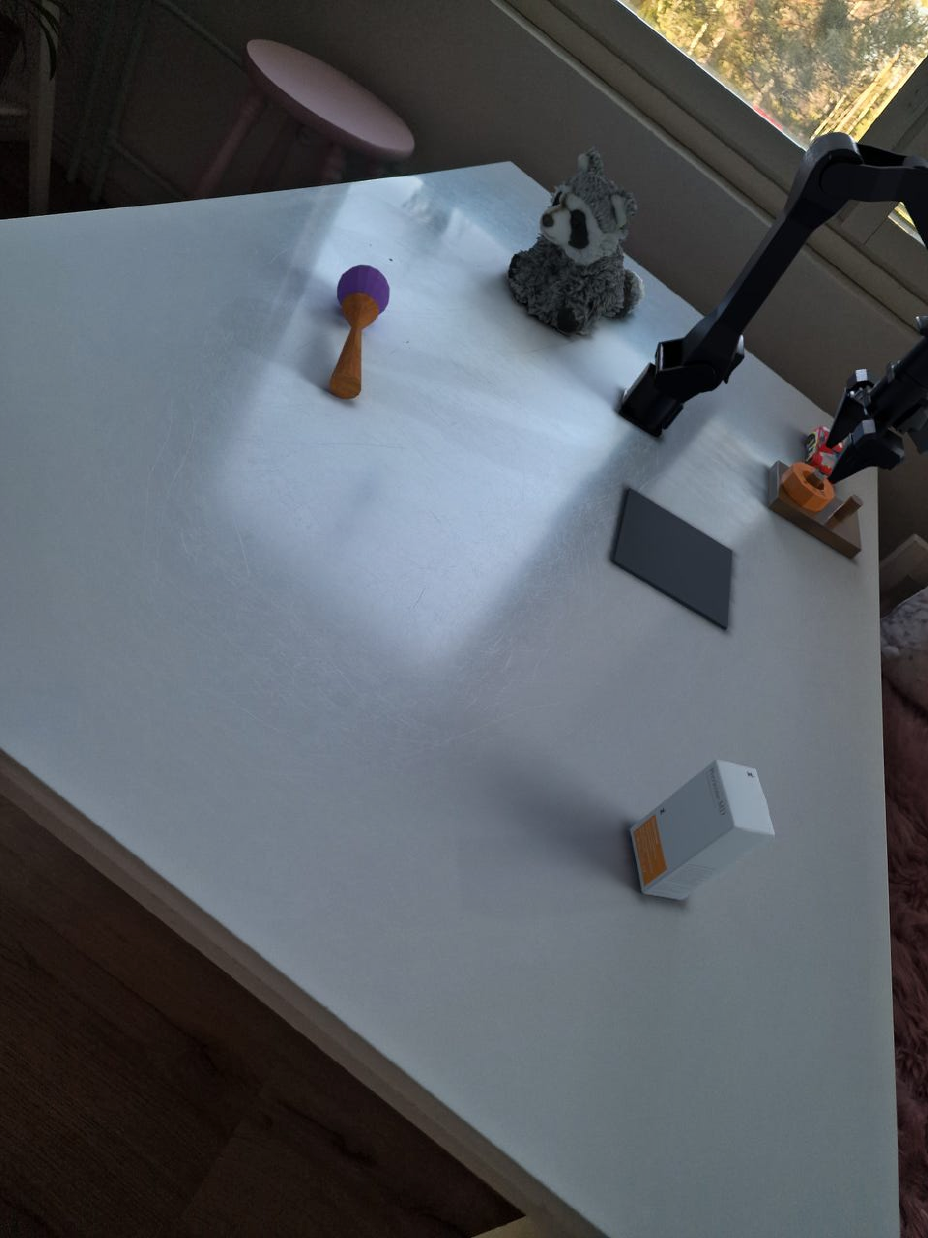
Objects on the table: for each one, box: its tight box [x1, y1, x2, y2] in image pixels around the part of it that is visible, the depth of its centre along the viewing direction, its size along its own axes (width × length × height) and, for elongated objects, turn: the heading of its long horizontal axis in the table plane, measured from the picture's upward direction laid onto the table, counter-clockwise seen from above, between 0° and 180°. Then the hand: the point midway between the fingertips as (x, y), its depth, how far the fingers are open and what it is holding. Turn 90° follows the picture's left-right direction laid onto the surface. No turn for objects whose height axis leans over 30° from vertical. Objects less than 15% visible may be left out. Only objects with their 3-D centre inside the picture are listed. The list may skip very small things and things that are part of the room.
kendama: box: [328, 264, 391, 400], centre depth 108 cm, size 6×6×20 cm
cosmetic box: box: [629, 759, 776, 901], centre depth 79 cm, size 6×4×12 cm
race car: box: [804, 425, 845, 487], centre depth 149 cm, size 13×5×4 cm, turn 161°
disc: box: [782, 461, 835, 512], centre depth 136 cm, size 7×7×2 cm
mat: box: [612, 487, 733, 630], centre depth 115 cm, size 15×15×1 cm
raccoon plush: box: [507, 146, 646, 337], centre depth 138 cm, size 15×32×21 cm, turn 145°
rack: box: [767, 459, 864, 560], centre depth 137 cm, size 14×10×6 cm
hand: (829, 463), depth 133 cm, fingers open, 9 cm apart
